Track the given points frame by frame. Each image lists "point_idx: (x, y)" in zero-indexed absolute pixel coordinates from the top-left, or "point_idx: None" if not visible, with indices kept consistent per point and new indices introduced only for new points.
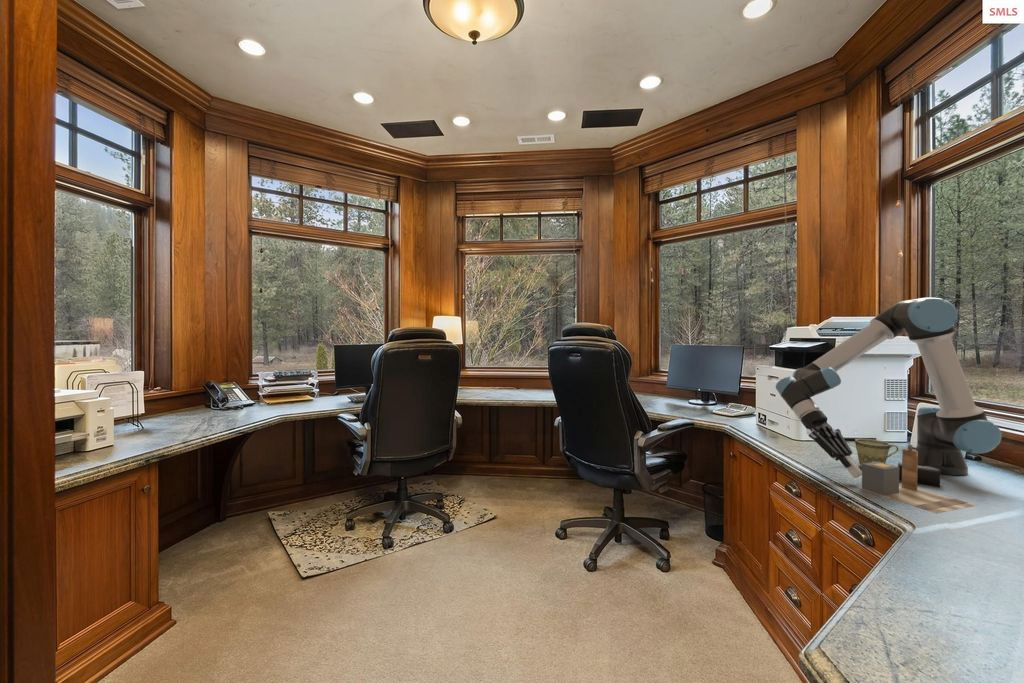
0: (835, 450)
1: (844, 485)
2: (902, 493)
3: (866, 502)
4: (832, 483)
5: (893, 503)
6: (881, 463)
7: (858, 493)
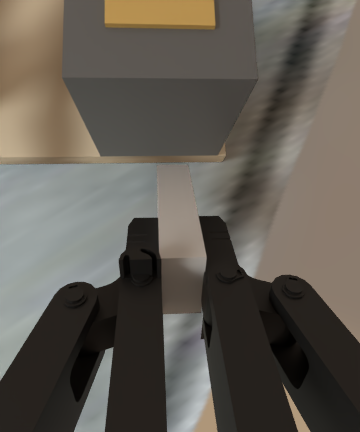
0: (307, 316)
1: None
2: None
3: (314, 77)
4: None
5: None
6: (113, 17)
7: (242, 157)
